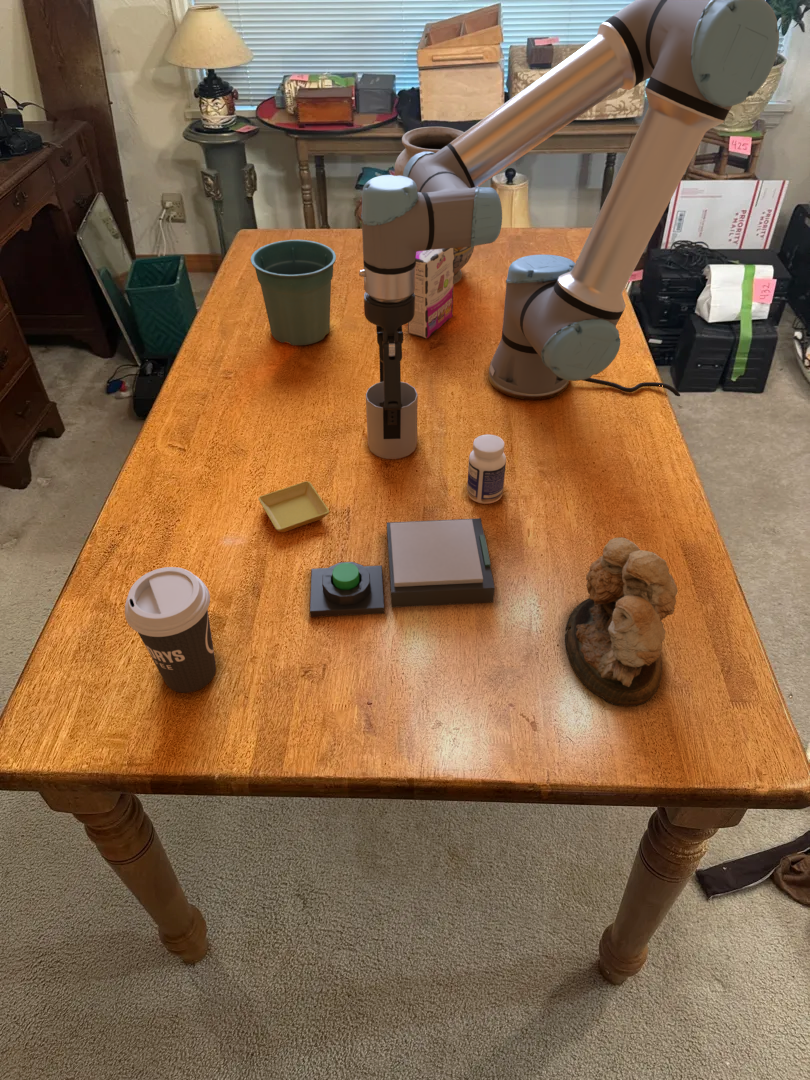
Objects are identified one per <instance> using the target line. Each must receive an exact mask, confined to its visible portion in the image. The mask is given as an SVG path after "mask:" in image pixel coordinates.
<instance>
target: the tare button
mask: <svg viewBox="0 0 810 1080" xmlns="http://www.w3.org/2000/svg"><path fill="white" fill-rule="evenodd" d="M332 575H333V583H334V585H335V587H336V588H338V589H340V590H351V589H353V588H355V587H356V586H357V585H358V584H359V570H358V568H357V567H356V566H355V565H354V564H351V563H342V564H339V565H337V566H336V567H335V568H334V569H333V572H332Z"/></svg>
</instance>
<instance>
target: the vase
mask: <svg viewBox="0 0 810 1080" xmlns="http://www.w3.org/2000/svg"><path fill="white" fill-rule="evenodd" d="M464 132H465V131H463V130H459V129H456V128H452V127H447V126H423V127H418V128H413V129H411V130H408V131H407V132H405V133H404V134H403V135H402V137H401V143H402V145H403V147H404V149H403V150H402V151H401V152H400V154H399V155H398V156H397V158H396V160H395V163H394V176H403V172H404V168H405V166H406V164H407V163H408V161H409V160H410V159H411V158H412V157H413V156H414V155H416V154H418V153H421V152H426V151H428V152H434V153H436V152H438V151H439V150H441V149H442V148H444V147H445V146H447V145H448V144H449V143H451V142H452V141H453V140H455V139H456V138H458V137H459V136H460V135H462V134H463V133H464ZM474 248H475V246H474V247H471V246H470V247H458V248H454V278H453V285H455V284H457V283H459V282H460V281H461V280H462V277H463V272H462V269H463V268H464V267H465V266H466V265H467V263H469V261H470V259H471V257H472V255H473V253H474Z"/></svg>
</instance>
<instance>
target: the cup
mask: <svg viewBox="0 0 810 1080" xmlns="http://www.w3.org/2000/svg"><path fill="white" fill-rule="evenodd" d="M418 398H419V397H418V392H417V390H416V388H415V387H414V386H413V385H411V384H410V383H408V382H404V381H401V404H402V409H401V439H384V438H383V407H379V403H383V401H384V381H383V382H380V381H379V382H376V383H374V384H373V385H371V386H370V387H369V388H367V391H366V393H365V411H366V433H367V446H368V450H369V451H370V452H371V453H372V454H374V455H375V456H376V457H378V458H381V459H386V460H399V459H402V458H405V457H408V456H409V455H411V454H412V453H413V452H415V450H416V448H417V445H418Z"/></svg>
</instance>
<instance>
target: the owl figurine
mask: <svg viewBox="0 0 810 1080" xmlns="http://www.w3.org/2000/svg"><path fill="white" fill-rule="evenodd" d="M588 568H589V570H588V571H587V573H586V575H585V580H586V590H587V593H588V594H589V595H588V598H586V599H585V600H583V601H581V602H580V603H578V605H576V607H574V609H573V610H572V611H571V612H570V615H569V617H568V619H567V621H566V625H565V631H564V632H566V633H565V634H564V644H565V651H566V654H567V657H568V660H569V663H570V665H571V667H572V669H573V672H574V673H575V674H576V676H577V677H578V678H579V680H580V681H581V683H582V684H583V686H585V687H586V688H587V689H588V690H589V691H590V692H591V693H593V695H596V696H598V697H600V698H602V699H603V700H604V701H605V702H607V703H608V704H611V705H614V706H621V707H634V706H635V707H637V706H640V705H643V704H646V703H647V702H649V700H651V699H652V698H653V697H654V696H655V694H656V693H657V691H658V689H659V688H660V685H661V681H662V676H663V668H664V667H663V658H662V657H663V656H662V652H661V651H662V649H663V642H664V641H665V639H666V629H665V627H664V623H663V622H662V621H663V619H665V618H667V617H668V616H671V615H673V614H674V613H675V606H676V604H677V599H676V597H677V595H678V592H679V591H678V586H677V584H676V581H675V578H674V577H673V575H672V574H671V573H670V568H669V566H668V564H667V561H666V560H665V559H664V558H662V557H661V556H659V555H658V554H657V553H656V552H654V551H650V550H649V551H648V550H643V549H640V547H639V545H637V544H636V543H635V542H633V541H631V540H630V539H628V538H626V537H622V536H618V537H614V538H611V539H609V540H608V542H607V543H606V544H605V545H604V547H603V549H602V555H600V556H599V557H598V558H597V559H596V560H594V561H593V562H591V564H590V566H589V567H588Z"/></svg>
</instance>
